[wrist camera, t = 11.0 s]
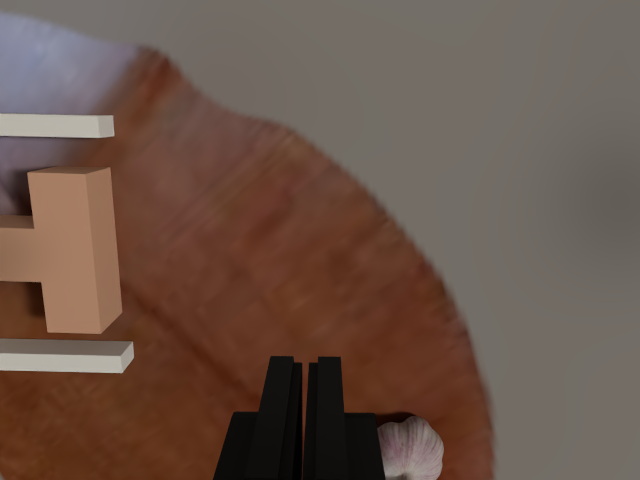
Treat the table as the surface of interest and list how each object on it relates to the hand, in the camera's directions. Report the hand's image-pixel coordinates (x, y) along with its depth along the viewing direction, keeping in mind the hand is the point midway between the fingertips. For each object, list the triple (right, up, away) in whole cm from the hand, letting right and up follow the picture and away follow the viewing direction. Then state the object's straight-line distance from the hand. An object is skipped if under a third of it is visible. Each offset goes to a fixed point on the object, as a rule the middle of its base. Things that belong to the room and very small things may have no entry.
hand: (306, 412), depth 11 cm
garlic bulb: (+7, -14, +32) cm, 36 cm away
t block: (-22, +4, +27) cm, 35 cm away
